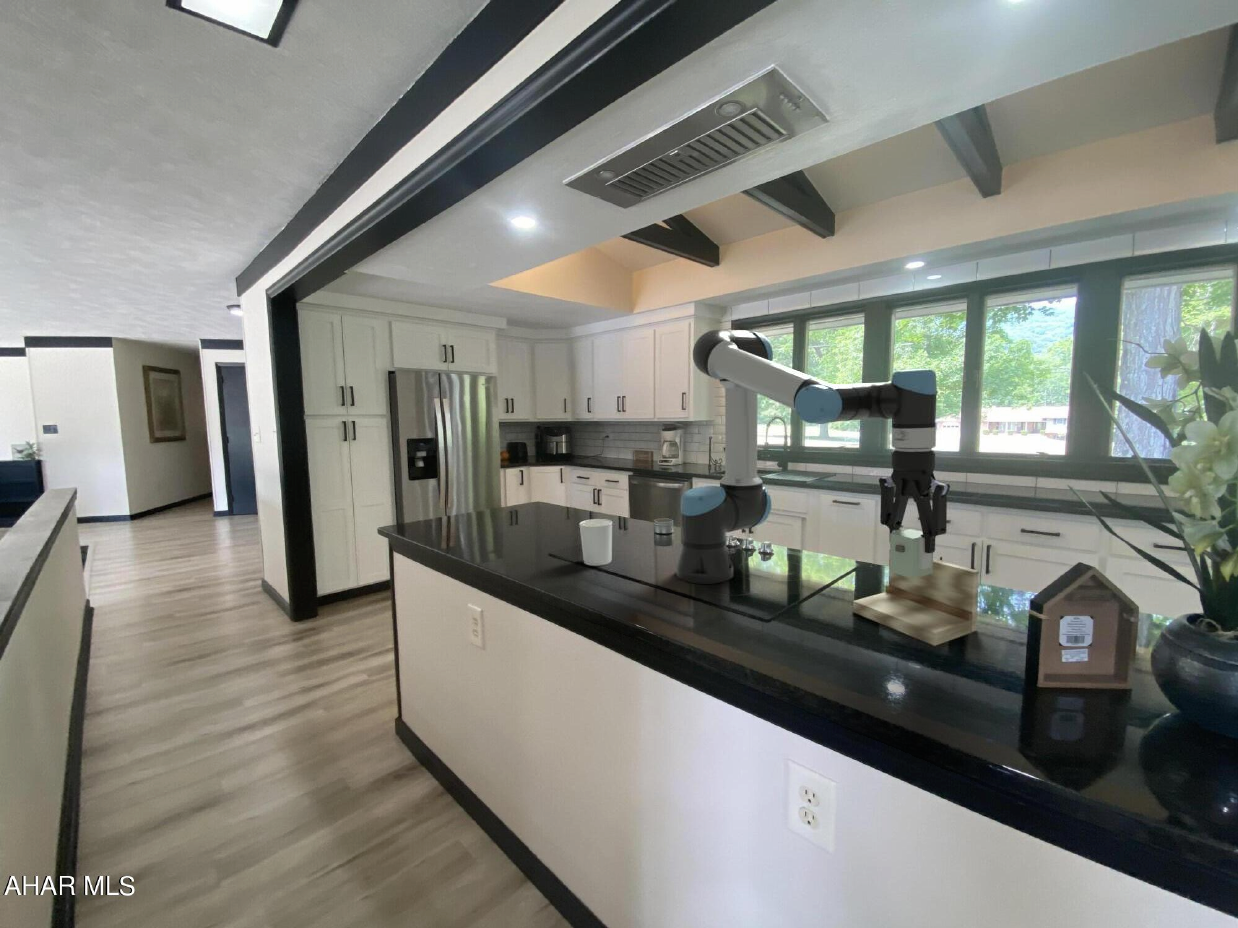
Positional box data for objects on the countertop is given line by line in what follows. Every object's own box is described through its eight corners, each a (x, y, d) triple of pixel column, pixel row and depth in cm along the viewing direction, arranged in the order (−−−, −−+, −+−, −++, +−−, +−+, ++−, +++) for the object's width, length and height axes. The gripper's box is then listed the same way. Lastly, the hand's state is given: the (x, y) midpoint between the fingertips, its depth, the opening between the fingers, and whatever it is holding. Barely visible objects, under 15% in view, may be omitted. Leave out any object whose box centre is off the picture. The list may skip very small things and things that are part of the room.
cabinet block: (886, 572, 105) (887, 533, 104) (909, 566, 108) (910, 529, 107) (909, 579, 100) (910, 539, 99) (932, 573, 103) (933, 534, 102)
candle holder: (577, 566, 151) (575, 526, 150) (585, 556, 161) (583, 518, 159) (610, 566, 150) (608, 526, 148) (616, 556, 159) (614, 518, 158)
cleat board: (853, 612, 111) (853, 557, 110) (892, 600, 116) (893, 548, 115) (934, 645, 95) (936, 582, 94) (976, 630, 100) (978, 570, 99)
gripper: (860, 448, 108) (860, 556, 110) (946, 453, 92) (943, 580, 94) (885, 445, 111) (884, 550, 114) (972, 450, 95) (969, 573, 97)
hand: (911, 564), depth 104 cm, fingers closed on cabinet block, 5 cm apart
